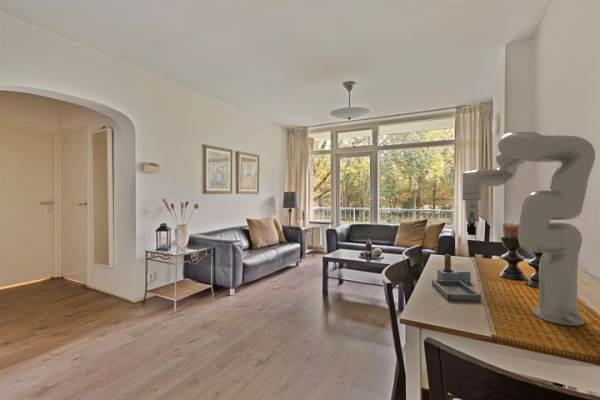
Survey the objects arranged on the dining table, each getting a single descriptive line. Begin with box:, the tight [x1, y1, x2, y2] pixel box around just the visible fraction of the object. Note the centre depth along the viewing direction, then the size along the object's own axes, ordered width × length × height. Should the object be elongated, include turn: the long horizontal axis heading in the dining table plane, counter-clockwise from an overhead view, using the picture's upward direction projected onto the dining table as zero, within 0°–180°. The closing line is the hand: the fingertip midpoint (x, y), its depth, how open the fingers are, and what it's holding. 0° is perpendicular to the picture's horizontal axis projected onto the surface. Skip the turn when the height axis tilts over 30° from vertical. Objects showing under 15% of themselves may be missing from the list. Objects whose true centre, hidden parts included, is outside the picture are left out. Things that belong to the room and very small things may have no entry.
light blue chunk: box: [436, 268, 471, 284], centre depth 136 cm, size 7×13×5 cm, turn 82°
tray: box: [431, 279, 482, 303], centre depth 121 cm, size 19×12×2 cm, turn 172°
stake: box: [444, 253, 452, 272], centre depth 137 cm, size 3×3×13 cm
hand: (471, 233), depth 138 cm, fingers open, 9 cm apart
